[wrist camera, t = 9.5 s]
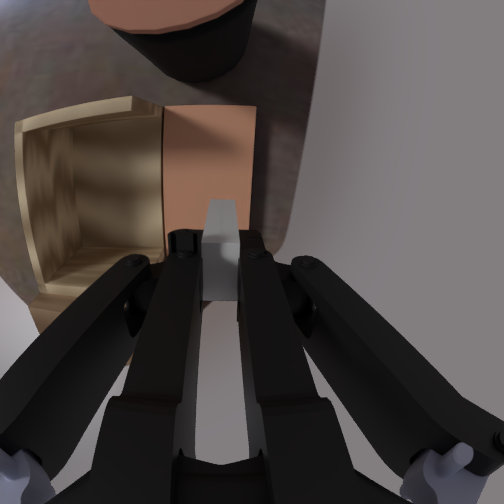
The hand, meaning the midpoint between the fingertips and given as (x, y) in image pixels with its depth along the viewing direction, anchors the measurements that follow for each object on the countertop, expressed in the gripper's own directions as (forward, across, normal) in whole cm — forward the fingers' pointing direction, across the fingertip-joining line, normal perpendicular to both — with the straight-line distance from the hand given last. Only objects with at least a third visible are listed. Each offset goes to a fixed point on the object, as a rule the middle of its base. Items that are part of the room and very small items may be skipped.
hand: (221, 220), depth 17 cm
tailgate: (+14, -7, -1) cm, 16 cm away
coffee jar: (+16, -4, +16) cm, 23 cm away
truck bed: (+16, -14, -4) cm, 21 cm away
